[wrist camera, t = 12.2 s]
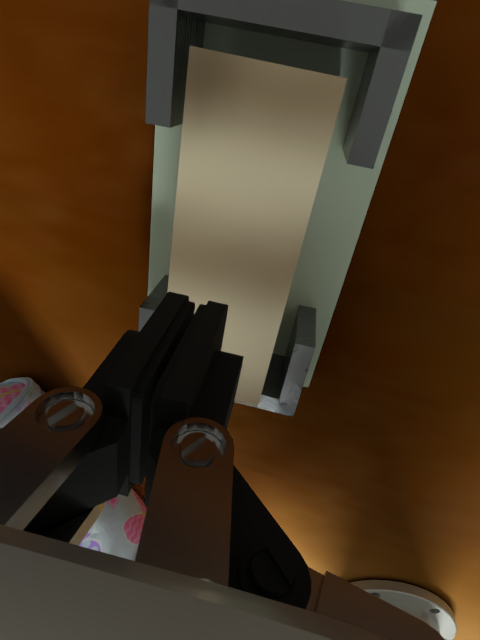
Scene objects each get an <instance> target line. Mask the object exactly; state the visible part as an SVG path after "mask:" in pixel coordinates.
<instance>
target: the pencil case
mask: <svg viewBox="0 0 480 640" xmlns="http://www.w3.org/2000/svg"><path fill="white" fill-rule="evenodd" d="M44 393H46V392H44V391H43V390H42V389H41V388H40V386H39V385H38V384H37V383H35V382H34V380H32V379H31V378H28V377H20V378H10V379H7V380H5V381H4V382H1V383H0V428H3V427H4V426H5V425H7V424H8V423H9V422H10V421H11V420H12V419H13V418H15V417H16V416H17V415H18V414H19V413H20V412H22V411H23V410H24V409H25V408H26V407H27V406H29V405H30V404H31V403H32V402H33V401H34V400H35V399H37V398H38V397H40V396H41V395H43V394H44ZM146 511H147V508H146V506H145V504H144V502H143V500H142V499H141V498H140V497H139V496H138V494H137V493H136V492H135V491H134V490H133V488H131V491H130V493H129V495H128V497H127V496H123V495H119V494H118V496H117V497H115V498H113V499H111V500H108V501H106V502H105V503H104V508H103V510H102V512H101V514H100V516H99V517H98V518H97V520H96V521H95V523H94V524H93V526H92V527H91V529H90V530H89V532H88V533H87V534H86V536H85V537H84V539H83V540H82V542H81V543H80V545H79V546H82V547H85V548H89V549H93V550H96V551H100V552H104V553H107V554H111V555H115V556H118V557H122V558H125V559H129V560H133V561H135V558H136V554H137V550H138V545H139V541H140V537H141V532H142V528H143V524H144V520H145V515H146Z"/></svg>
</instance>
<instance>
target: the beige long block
mask: <svg viewBox="0 0 480 640" xmlns="http://www.w3.org/2000/svg"><path fill="white" fill-rule="evenodd" d="M347 79H348V78H343V77H339V76H334V75H329V74H324V73H319V72H314V71H310V70H305V69H300V68H295V67H290V66H286V65H281V64H276V63H271V62H266V61H262V60H257V59H252V58H247V57H242V56H237V55H233V54H228V53H223V52H218V51H213V50H209V49H204V48H199V47H194V46H190V47H189V58H188V69H187V80H186V91H185V103H184V114H183V125H182V136H181V147H180V158H179V169H178V180H177V191H176V202H175V213H174V224H173V235H172V247H171V258H170V269H169V280H168V291H167V293H168V292H174V293H178V294H183V295H187V296H189V301H190V302H195V311H194V314H195V312H196V310H197V308H198V307H199V305H200V304H203V305H206V304H207V303H208V301H213V302H218V303H222V304H227V305H228V312H227V318H226V324H225V330H224V336H223V342H222V348H221V351H223V352H228V353H232V354H236V355H240V356H244V358H243V363H242V368H241V373H240V378H239V382H238V387H237V391H236V395H235V400H234V401H235V402H239V403H243V404H247V405H251V406H255V407H258V404H259V401H260V397H261V393H262V390H263V386H264V382H265V379H266V375H267V371H268V368H269V364H270V360H271V357H272V353H273V349H274V346H275V342H276V338H277V335H278V331H279V327H280V324H281V320H282V317H283V313H284V309H285V306H286V302H287V298H288V295H289V291H290V287H291V284H292V280H293V276H294V273H295V269H296V265H297V262H298V258H299V254H300V251H301V247H302V243H303V240H304V236H305V232H306V229H307V225H308V221H309V218H310V214H311V211H312V207H313V203H314V200H315V196H316V192H317V189H318V185H319V181H320V178H321V174H322V170H323V167H324V163H325V159H326V156H327V152H328V148H329V145H330V141H331V137H332V134H333V130H334V126H335V123H336V119H337V116H338V112H339V108H340V105H341V101H342V97H343V94H344V90H345V86H346V83H347Z"/></svg>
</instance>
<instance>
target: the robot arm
mask: <svg viewBox="0 0 480 640" xmlns="http://www.w3.org/2000/svg"><path fill="white" fill-rule="evenodd" d="M194 311H195V302H190V301H189V296H187V295H183V294H178V293H174V292H168V293H167V294H166V296H165V297H164V298H163V300H162V301H161V303H160V304H159V305H158V307H157V308H156V310H155V311H154V312H153V314H152V315H151V317H150V318H149V319H148V321H147V322H146V324H145V325H144V326H143V328H142V329H141V331H140V332H138V331H134V330H128V331H127V332H126V333H125V334H124V335H123V336H122V338H121V339H120V340H119V342H118V343H117V344H116V345H115V347H114V348H113V349H112V351H111V352H110V353H109V355H108V356H107V357H106V359H105V360H104V361H103V362H102V364H101V365H100V366H99V368H98V369H97V370H96V372H95V373H94V374H93V375H92V377H91V378H90V379H89V381H88V382H87V383H86V385H85V386H84V387H83V388H80V387H63V388H57V389H54V390H51V391H49V392H46V393H44V394H43V395H41V396H40V397H38V398H37V399H35V400H34V401H33V402H32V403H31V404H30V405H29V406H27V407H26V408H25V409H24V410H23V411H22V412H20V413H19V414H18V415H17V416H16V417H15V418H13V419H12V420H11V421H10V422H9V423H8V424H7V425H5V426H4V427H3V428H0V640H453V638H454V637H455V635H456V631H457V626H456V622H455V617H454V614H453V612H452V610H451V608H450V607H449V606H448V605H447V603H446V602H444V601H443V600H442V599H440V598H439V597H438V596H436V595H435V594H433V593H431V592H429V591H427V590H425V589H422V588H420V587H417V586H414V585H410V584H407V583H403V582H397V581H390V580H361V581H355V582H350V583H349V582H347V581H345V580H343V579H341V578H340V577H338V576H336V575H334V574H332V573H330V572H328V571H326V572H325V574H324V575H322V574H321V573H319V572H317V571H315V570H313V569H311V568H309V567H308V566H307V564H306V563H305V561H304V559H303V557H302V556H301V554H300V553H299V551H298V550H297V549H296V547H295V546H294V545H293V543H292V542H291V541H290V539H289V538H288V537H287V535H286V534H285V533H284V531H283V530H282V529H281V527H280V526H279V525H278V523H277V522H276V521H275V519H274V518H273V517H272V515H271V514H270V513H269V511H268V510H267V509H266V507H265V506H264V505H263V503H262V502H261V501H260V499H259V498H258V497H257V495H256V494H255V493H254V491H253V490H252V489H251V487H250V486H249V485H248V483H247V482H246V481H245V479H244V478H243V477H242V475H241V474H240V473H239V471H238V470H237V469H236V467H235V466H234V465H233V462H234V445H233V439H232V437H231V435H230V434H229V432H228V431H227V426H228V422H229V419H230V415H231V411H232V407H233V404H234V400H235V395H236V391H237V387H238V382H239V378H240V373H241V368H242V363H243V358H244V356H240V355H236V354H232V353H228V352H223V351H221V348H222V342H223V336H224V330H225V324H226V318H227V312H228V305H227V304H222V303H218V302H213V301H208V303H207V304H206V305H203V304H200V305H199V307H198V308H197V310H196V312H195V314H194ZM145 475H146V482H145V500H144V504H145V506H146V508H147V511H146V515H145V520H144V524H143V528H142V532H141V537H140V541H139V545H138V550H137V554H136V558H135V561H133V560H129V559H125V558H122V557H118V556H115V555H111V554H107V553H104V552H100V551H96V550H93V549H89V548H85V547H82V546H79V545H80V543H81V542H82V540H83V539H84V537H85V536H86V534H87V533H88V532H89V530H90V529H91V527H92V526H93V524H94V523H95V521H96V520H97V518H98V517H99V516H100V514H101V512H102V510H103V508H104V503H105V502H106V501H108V500H111V499H113V498H115V497H117V496H118V494H119V495H123V496H127V497H128V495H129V493H130V491H131V488H132V486H133V484H138V485H141V483H142V482H143V480H144V477H145Z"/></svg>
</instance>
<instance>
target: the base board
mask: <svg viewBox="0 0 480 640" xmlns="http://www.w3.org/2000/svg"><path fill="white" fill-rule="evenodd" d="M342 1H348V2H354V3H359V4H365V5H371V6H376V7H382V8H387V9H393V10H399V11H404V12H410V13H415V14H421V15H423V16H422V19H421V22H420V25H419V28H418V31H417V35H416V38H415V41H414V44H413V47H412V50H411V53H410V56H409V59H408V62H407V66H406V69H405V72H404V75H403V78H402V81H401V84H400V87H399V90H398V93H397V97H396V100H395V103H394V106H393V109H392V112H391V115H390V118H389V121H388V124H387V128H386V131H385V134H384V137H383V140H382V143H381V146H380V149H379V152H378V155H377V159H376V162H375V165H374V168H373V169H370V168H365V167H360V166H355V165H350V164H347V162H346V159H345V156H344V152H343V149H342V148H343V144H344V140H345V137H346V133H347V129H348V126H349V122H350V119H351V115H352V111H353V108H354V104H355V101H356V97H357V93H358V90H359V86H360V82H361V79H362V75H363V72H364V68H365V64H366V61H367V57H368V53H367V52H361V51H356V50H350V49H345V48H340V47H334V46H329V45H323V44H318V43H313V42H307V41H302V40H296V39H291V38H286V37H280V36H275V35H270V34H264V33H259V32H253V31H248V30H243V29H237V28H232V27H226V26H221V25H216V24H210V23H205V32H204V43H203V48H204V49H209V50H213V51H218V52H223V53H228V54H233V55H237V56H242V57H247V58H252V59H257V60H262V61H266V62H271V63H276V64H281V65H286V66H290V67H295V68H300V69H305V70H310V71H314V72H319V73H324V74H329V75H334V76H339V77H343V78H348V79H347V83H346V86H345V90H344V94H343V97H342V101H341V105H340V108H339V112H338V116H337V119H336V123H335V126H334V130H333V134H332V137H331V141H330V145H329V148H328V152H327V156H326V159H325V163H324V167H323V170H322V174H321V178H320V181H319V185H318V189H317V192H316V196H315V200H314V203H313V207H312V211H311V214H310V218H309V221H308V225H307V229H306V232H305V236H304V240H303V243H302V247H301V251H300V254H299V258H298V262H297V265H296V269H295V273H294V276H293V280H292V284H291V287H290V291H289V295H288V298H287V302H286V306H285V309H284V313H283V317H282V320H281V324H280V327H279V331H278V335H277V338H276V342H275V346H274V349H273V354H278V355H282V356H285V354H286V350H287V347H288V343H289V339H290V336H291V332H292V328H293V325H294V321H295V318H296V314H297V310H298V307H299V305H302V306H306V307H311V308H315V309H316V343H315V351H314V354H313V357H312V360H311V363H310V366H309V369H308V372H307V376H306V379H305V382H304V385H303V386H304V387H309V384H310V381H311V378H312V375H313V372H314V369H315V366H316V363H317V360H318V357H319V354H320V351H321V348H322V345H323V342H324V339H325V336H326V333H327V330H328V327H329V324H330V321H331V318H332V315H333V312H334V309H335V306H336V303H337V300H338V297H339V294H340V291H341V288H342V285H343V282H344V279H345V276H346V273H347V270H348V267H349V264H350V261H351V258H352V255H353V252H354V249H355V246H356V243H357V240H358V237H359V234H360V231H361V228H362V225H363V222H364V219H365V216H366V213H367V210H368V207H369V204H370V201H371V198H372V195H373V192H374V189H375V186H376V183H377V180H378V177H379V174H380V171H381V168H382V165H383V162H384V159H385V156H386V153H387V150H388V147H389V144H390V141H391V138H392V135H393V132H394V129H395V126H396V123H397V120H398V117H399V114H400V111H401V108H402V105H403V102H404V99H405V96H406V93H407V90H408V87H409V84H410V81H411V78H412V75H413V72H414V69H415V66H416V63H417V60H418V57H419V54H420V51H421V48H422V45H423V42H424V39H425V36H426V33H427V30H428V27H429V24H430V21H431V18H432V15H433V12H434V9H435V6H436V3H437V1H433V0H342ZM182 125H183V124H180V125H177V126H174V127H171V128H167V127H163V126H158V125H155V143H154V165H153V187H152V210H151V232H150V255H149V277H148V296H149V294H150V293H151V292H152V291H153V289H154V288H155V287H156V286H157V284H158V283H159V282H160V281H161V279H162V278H163V277H164V275H169V269H170V258H171V247H172V235H173V224H174V213H175V202H176V191H177V180H178V169H179V158H180V147H181V136H182Z"/></svg>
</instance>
